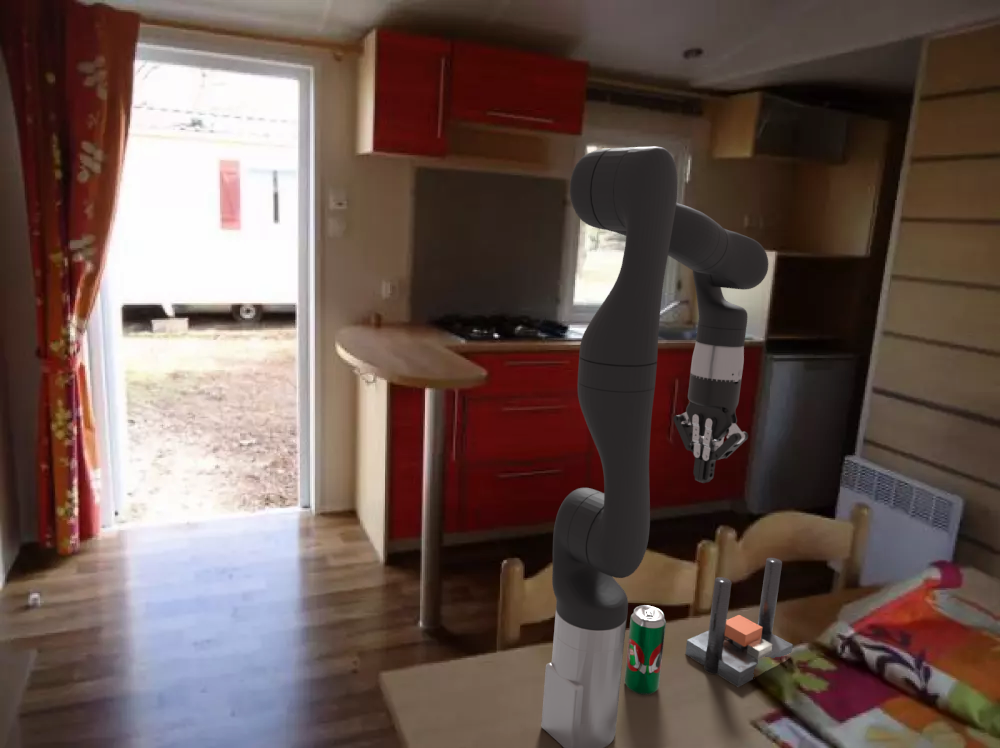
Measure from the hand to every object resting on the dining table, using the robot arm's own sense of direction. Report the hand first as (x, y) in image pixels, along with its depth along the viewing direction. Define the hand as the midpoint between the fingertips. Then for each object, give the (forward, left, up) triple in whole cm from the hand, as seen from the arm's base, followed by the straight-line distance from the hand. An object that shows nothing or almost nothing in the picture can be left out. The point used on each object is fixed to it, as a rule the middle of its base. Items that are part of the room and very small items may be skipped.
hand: (702, 481), depth 112 cm
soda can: (-14, -4, -29) cm, 32 cm away
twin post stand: (+5, -7, -29) cm, 30 cm away
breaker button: (+5, -7, -27) cm, 29 cm away
